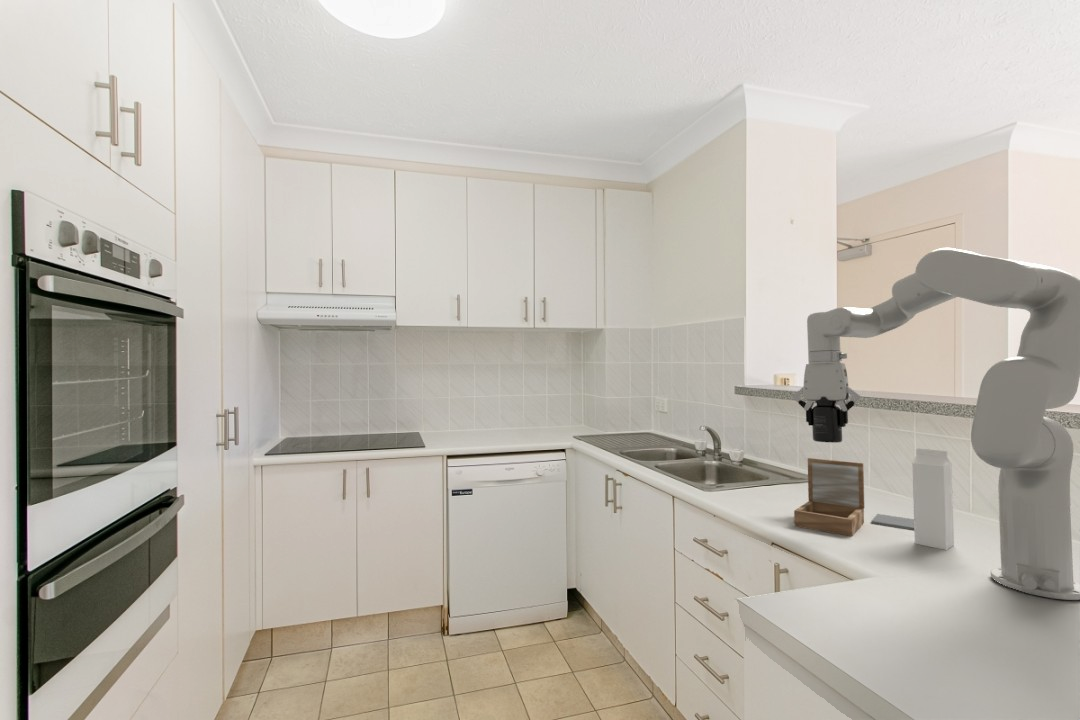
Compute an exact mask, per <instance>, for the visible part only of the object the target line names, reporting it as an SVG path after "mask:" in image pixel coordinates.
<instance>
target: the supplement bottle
mask: <svg viewBox="0 0 1080 720" xmlns="http://www.w3.org/2000/svg"><path fill="white" fill-rule="evenodd" d="M814 404H816V405H815V406H813V407H812V425H811V426H812V440H813V442H817V443H831V444H832V443H834V444H835V443H842V442H843V427H841V426H840V411H841V408H840V406H837V405H836V404H838V403H837V401H830V400H828V398H827V399H826V396H825V397H824V396H823V397H821V399H820V400H818V401H815V403H814Z"/></svg>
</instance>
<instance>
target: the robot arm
mask: <svg viewBox="0 0 1080 720" xmlns="http://www.w3.org/2000/svg"><path fill="white" fill-rule="evenodd" d="M891 296H892V297H890V298H889V299H887V300H885V301H883V302H881V303H879V304H876V305H874V306H873V307H870V308H865V307H864V308H861V307H847V306H843V307H837V308H834V309H831V310H829V311H821V312H813V313H810V314H809V315H808V316H807V319H806V323H807V324H806V327H807V332H806V333H807V350H808V351H807V352H808V353H807V355H808V358H807V359H808V364H805V368H804V373H803V374H804V375H803V387H802V388H800V389H799V390H797V392H795V393H794V394H793V395H792V398H793V399H794V400H795V401H796V402H797V403H798V405H799V406H801V407H802V408H803V409H804V410H805V420H806V421H805V422H806V423H808V424H807V425H808V426H812V409H813V407H814V405H815V404H816V403H815V401H818V400H820V399H821V397H823V396H824V397H825V396H826V399H827V398H828V400H830V401H836V402H837V403H836V404H838V407H839V408H840V409H841V411H840V426H841V427H842V428H845V427H846V425H847V424H849V417H848V415H849V412H848V411H849V410H851V408H853V407H854V406H855V405H856V404H857V403H858V402H859V401H860V400H861V399H862V395H861V394H859V393H858V392H856V391H855V390H853V389H852V387H850V386H849V377H848V372H847V368H846V364H845V363H842V361H843V360H844V359H848V353H843V352H842V351H841V337H842V338H843V337H844V338H858V339H859V338H860V339H867V338H873V337H877V336H880V335H883V334H885V333H887V332H890V331H893V330H895V329H898V328H900V327H901V326H904V325H905V324H907V323H908V322H909V321H910V320H912V319H913V318H915V316H916V315H917V314H919V313H921V312H924V311H926V310H929V309H931V308H933V307H936V306H939V305H940V304H943V303H946V302H948V301H950V300H953V299H955V298H960V299H965V300H968V301H971V302H976V303H981V304H984V305H988V306H992V307H999V308H1006V309H1007V308H1008V309H1021V310H1025V311H1027V312H1028V313H1029V314H1030V315H1029V319H1028V321H1027V322H1026V324H1025V325H1024V328H1023V330H1022V332H1021V335H1020V341H1019V346H1018V350H1017V353H1016V356H1014V357H1009V358H1004V359H1001V360H1000V361H998V362H996V363H994V364H993V365H992V366H991V367H990V368H989V369H988V370H987V371H986V373H985V374H984V376H983V377H982V380H981V383H980V386H979V389H978V390H979V391H978V395H977V399H976V405H975V408H974V409H975V410H974V415H973V420H972V423H971V431H970V442H971V446H972V449H973V451H974V453H975V454H976V456H978V458H979V459H980V460H981V461H983V462H984V463H986V464H988V465H990V466H991V467H994V468H999V469H1000V470H999V476H998V490H997V491H998V522H999V544H1000V547H999V548H1000V567H996V568H993V569H991V570H990V577H992V578H993V579H995V580H996V581H998V582H1000V583H1001V584H1003V585H1002V586H1004V585H1006V586H1008V587H1007V588H1009V587H1010V588H1009V589H1011V588H1013V589H1012V590H1014V589H1016V590H1015V591H1017V590H1019V591H1018V592H1021V591H1022V592H1021V593H1024V592H1025V594H1029V595H1033V596H1038V597H1042V598H1048V599H1054V600H1063V601H1079V600H1080V583H1078V582H1076V581H1074V564H1073V544H1072V543H1073V541H1072V539H1073V538H1072V518H1071V517H1072V516H1071V515H1072V513H1071V474H1072V473H1071V472H1072V466H1073V459H1074V458H1073V457H1074V443H1073V439H1072V436H1071V434H1070V432H1069V431H1068V430H1067V428H1066V427H1064V426H1063V424H1061V423H1059V422H1058V421H1056V420H1055V419H1053V418H1049V417H1047V416H1045V414H1046V410H1051V409H1057V408H1060V407H1064V406H1066V405H1068V404H1070V402H1072V400H1073V399H1074V398H1075V396H1076V395H1077V392H1078V389H1079V388H1078V387H1079V384H1080V279H1079V278H1078V277H1077V276H1075V275H1074V274H1071V273H1069V272H1067V271H1064V270H1061V269H1059V268H1055V267H1052V266H1048V265H1043V264H1037V263H1031V262H1025V261H1018V260H1012V259H1008V258H1007V259H1006V258H1001V257H995V256H989V255H983V254H979V253H976V252H973V251H968V250H963V249H958V248H957V249H956V248H952V247H942V248H938V249H935V250H932V251H930V252H928V253H927V254H925V255H924V256H923V257H922V258H921V259H919V261H918V263H917V265H916V266H915V271H914V272H913V273H911V274H909V275H907V276H905V277H903V278H900V279H898V280H897V281H896V282H894V284H893V285H892V287H891ZM802 396H803V398H804V399H805V401H804V400H803V399H802ZM851 396H852V399H851V400H849V398H850V397H851ZM806 400H807V401H806ZM847 400H849V401H848V402H846V401H847ZM992 578H991V579H992ZM993 579H992V580H993ZM996 581H995V582H996ZM1001 584H1000V585H1001ZM1006 586H1005V587H1006Z"/></svg>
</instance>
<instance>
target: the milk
mask: <svg viewBox="0 0 1080 720" xmlns="http://www.w3.org/2000/svg"><path fill="white" fill-rule="evenodd" d="M915 453H916V454H915V457H914V459H913V461H912V463H911V464H912V495H913V519H914V530H913V531H914V533H913V534H914V544H916V545H921V546H924V547H929V548H934V549H940V550H943V551H947V550H949V549H950V548H952V547H954V546H955V535H954V533H955V532H954V531H955V529H954V507H953V506H954V505H953V504H954V501H953V498H954V497H953V481H952V480H953V477H952V476H953V475H952V473H953V472H952V471H953V469H952V462H951V461H950V459H949V457H948V451H946V450H941V449H940V450H939V449H929V448H916V449H915Z"/></svg>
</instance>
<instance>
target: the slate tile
mask: <svg viewBox="0 0 1080 720" xmlns="http://www.w3.org/2000/svg"><path fill="white" fill-rule="evenodd" d="M870 521H871V522H870V523H871V524H873V523H874V524H875V525H879V524H880V525H879V526H885V525H887V526H888V527H891V528H892V527H893V528H898V529H899V528H900V529H904V530H905V529H906V530H911V531H912V530H913V531H914V518H908V517H901V516H896V515H895V516H894V515H887V514H881V513H876V515H875V516H874V517H873V519H872V520H870ZM887 526H886V527H887Z"/></svg>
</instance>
